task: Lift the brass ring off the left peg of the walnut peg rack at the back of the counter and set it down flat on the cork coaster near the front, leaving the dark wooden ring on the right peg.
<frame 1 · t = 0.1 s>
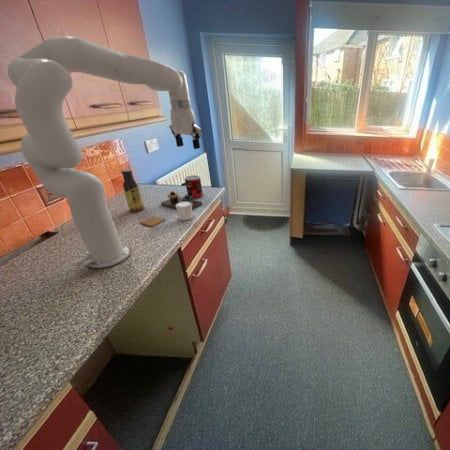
hand: (188, 147, 111), 31 cm above the countertop, tool pointing down, fingers open, 9 cm apart
brass ring: (173, 196, 131), point 4 cm above the countertop, touching peg rack
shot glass: (186, 217, 119), on the countertop
sauce bottle: (137, 209, 125), on the countertop
canned food: (195, 196, 143), on the countertop
wood ring: (187, 199, 128), point 4 cm above the countertop, touching peg rack
cork mat: (152, 221, 114), on the countertop
peg rack: (181, 205, 131), on the countertop
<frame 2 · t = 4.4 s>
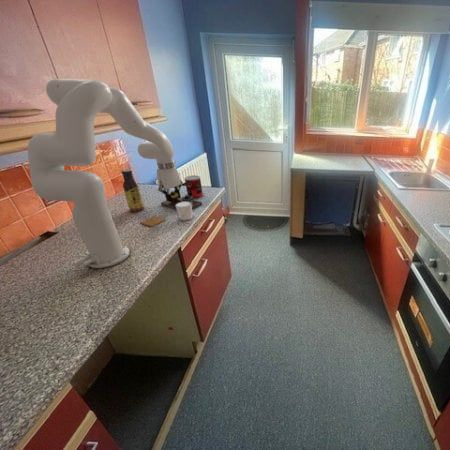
hand: (173, 199, 132), 2 cm above the countertop, tool pointing down, fingers closed on brass ring, 5 cm apart
brass ring: (173, 196, 131), point 4 cm above the countertop, touching gripper, peg rack
everything else where it was.
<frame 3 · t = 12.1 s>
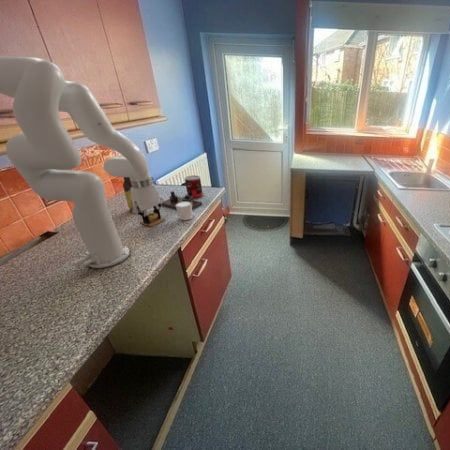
hand: (152, 220, 114), 1 cm above the countertop, tool pointing down, fingers closed on brass ring, 5 cm apart
brass ring: (151, 217, 113), point 2 cm above the countertop, touching gripper
everything else where it was.
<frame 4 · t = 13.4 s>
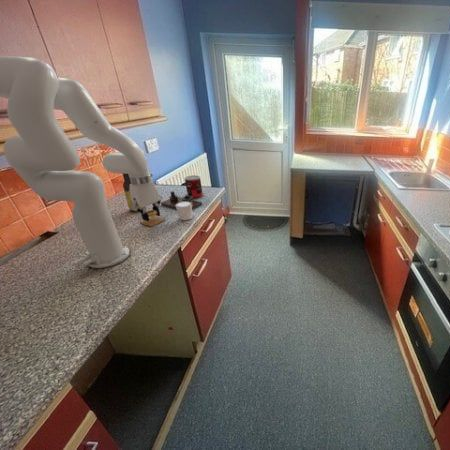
hand: (151, 217, 113), 2 cm above the countertop, tool pointing down, fingers closed on brass ring, 4 cm apart
brass ring: (150, 214, 112), point 4 cm above the countertop, touching gripper
everything else where it was.
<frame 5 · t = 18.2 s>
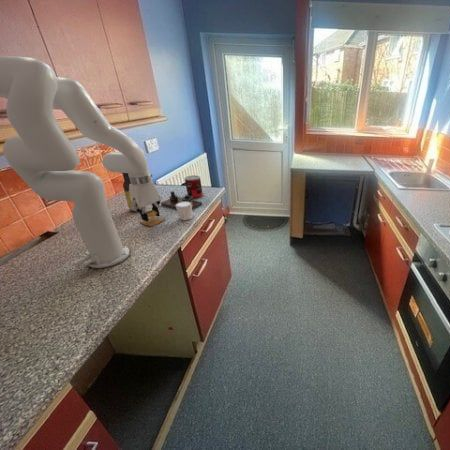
hand: (151, 217, 112), 2 cm above the countertop, tool pointing down, fingers closed on brass ring, 4 cm apart
brass ring: (150, 214, 112), point 4 cm above the countertop, touching gripper
everything else where it was.
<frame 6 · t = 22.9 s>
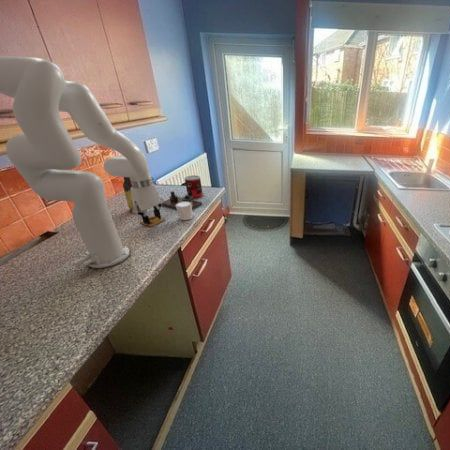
hand: (152, 220, 114), 1 cm above the countertop, tool pointing down, fingers closed on brass ring, 5 cm apart
brass ring: (152, 220, 114), resting on cork mat, touching gripper
everything else where it was.
when the fingers open (2 cm above the countertop, at t = 23.6 s): brass ring drops 2 cm, resting on cork mat.
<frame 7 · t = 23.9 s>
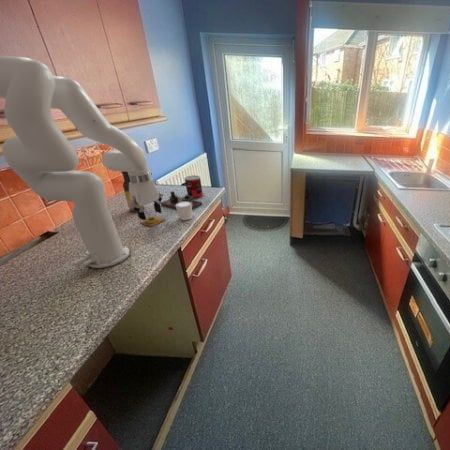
hand: (150, 215, 112), 3 cm above the countertop, tool pointing down, fingers open, 7 cm apart
brass ring: (152, 221, 113), resting on cork mat
everything else where it was.
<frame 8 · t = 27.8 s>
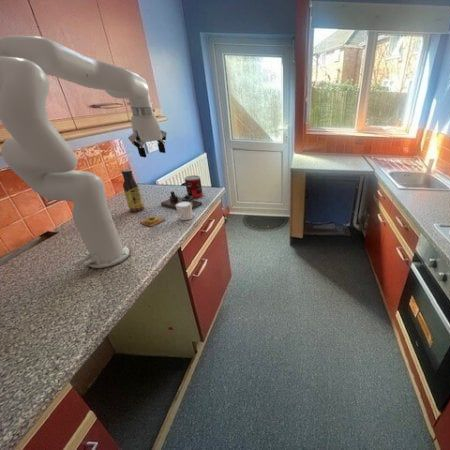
hand: (153, 154, 109), 28 cm above the countertop, tool pointing down, fingers open, 9 cm apart
nothing on the countertop moved.
at the end: brass ring 0.2 cm off-centre on the cork mat, point 0.5 cm above the cork mat's base; brass ring tilted 0°; wood ring moved 0.0 cm from its start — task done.
